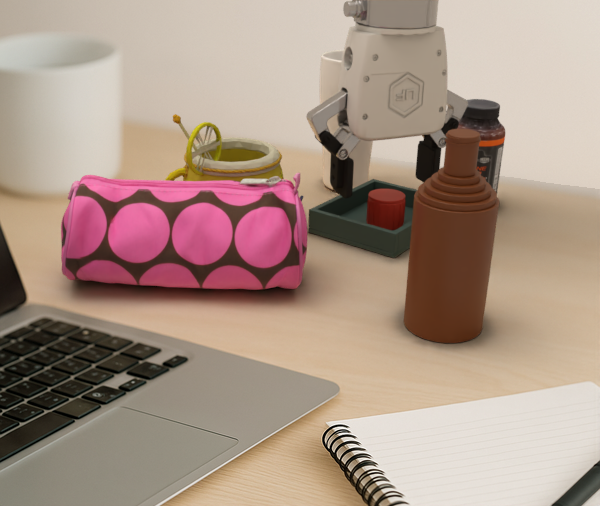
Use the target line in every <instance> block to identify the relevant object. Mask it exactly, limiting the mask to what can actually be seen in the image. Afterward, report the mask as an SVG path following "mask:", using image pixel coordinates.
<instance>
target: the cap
mask: <svg viewBox="0 0 600 506" xmlns="http://www.w3.org/2000/svg"><path fill="white" fill-rule="evenodd" d="M405 202H406V200H405V194H404V193H403V192H401V191H398V190H394V189H376V190H372V191H370V192H369V195H368V202H367V219H366V222H367V224H370V225H374V226H377V227H381V228H385V229H388V230H396V229H398V228H400V227H401V226H403V223H404V214H405Z"/></svg>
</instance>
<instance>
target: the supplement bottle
mask: <svg viewBox="0 0 600 506" xmlns="http://www.w3.org/2000/svg"><path fill="white" fill-rule="evenodd" d="M466 100H467V101H468V106H467V108H466V110H465V112H464V114H463V116H462V118H461V120H459V126H458V128H457V129H469V130H474V131H477V132H479V133H480V138H481V141H480V142H479V150H478V158H477V166H476V170H478V171H479V172H480V174H481V176H483V177H484V178H485V179H486V182H488V183H489V184H490V185H491V187H492V188H493V189H494V190H495V191H496V193H497V194H498V188H499V182H500V175H501V167H502V161H503V155H504V154H503V153H504V147H505V141H506V140H505V139H506V128H505V126H504V125H503V124H502V123H501V122H500V120H499V117H500V110H501V104H499V103H498V102H496V101H494V100H490V99H482V98H481V99H480V98H470V99H466Z"/></svg>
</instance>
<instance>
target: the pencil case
mask: <svg viewBox="0 0 600 506" xmlns="http://www.w3.org/2000/svg"><path fill="white" fill-rule="evenodd" d="M292 179H293V181H294V183H295V184H294V183H293V182H292V181H291V180H289V179H286V178H284V179H280V178H279V176H274V177H271V178H269V180H268V179H243V180H242V181H232V180H224V181H183V180H174V181H167V180H165V179H160V180H159V179H127V178H126V179H123V178H122V179H121V178H108V177H104V176H100V175H97V174H96V175H95V174H86V175H83V176H82V177H81V178H80V180H75V181H73V182H72V184H71V186H70V189H69V192H68V196H67V200H69V203H68V205H67V207H66V209H65V211H64V213H63V216H62V220H61V224H60V237H61V238H60V239H61V241H60V242H61V251H60V255H61V256H60V257H61V258H60V259H61V260H60V261H61V273H62V275H63V276H65V277H66V278H67V279H68V280H69V281H84V282H85V281H86V282H88V281H89V282H91V281H93V282H99V283H105V284H122V285H132V286H153V287H154V286H155V287H156V286H157V287H163V288H182V289H183V288H185V289H186V288H187V289H207V290H209V289H211V290H239V289H240V290H248V291H249V290H250V291H251V290H253V291H257V290H258V291H259V290H260V291H261V290H267V289H271V288H276V287H279V288H281V289H287V290H296V289H298V287H299V286H301V284H302V282H303V281H302V280H303V276H304V275H303V274H304V267H305V263H306V259H307V252H308V220H307V215H306V211H305V207H304V205H303V202H302V201H303V199H304V195H300V196H299V190H298V189H299V187H300V184H301V172H296V173H295V174H294V175H293V177H292Z"/></svg>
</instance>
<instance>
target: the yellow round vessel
mask: <svg viewBox="0 0 600 506" xmlns="http://www.w3.org/2000/svg"><path fill="white" fill-rule="evenodd" d="M181 119H182V117H181V116H180V115H178V114H176V113H174V114H173V115H172V121H173V123H175V124H177V125H178V126H179V128H180V129H181V131H182V132H183V134H184V135H185V137H186V139H187V140H188V141H187V144H186V149H185V153H184V155H183V160H184V162H185V165H184V166H183V167H180V168H177V169H175V170H173V171H171V172H169V174H168V175H167V176H166V178H165V179H164V180H167V181H176V179H178V178H180V177H182V181H224V180H232V181H242V180H243V179H268V180H269V178H271V177H274V176H279V178H280V179H285V177H284V172H283V169H282V166H281V160H282V158H283V155H282V153H281V151H279V150H278V148H277V147H276V146H275V145H272V144H271V143H269V142H266V141H264V140H260V139H256V138H255V139H254V138H248V137H222V134H221V131H220V129H219V127H218V126H217V125H216V124H214V123H212V122H208V121H203V122H201V123H199V124H198V125H197V126H195V128H194V129H193V130H192V131H191V134H190V135H189V133H188V131H187V130H186V128H185V126H184V125H183V123H182V121H181ZM205 127H206V129H205V135H204V138H203V137H202V135H201V134H200V131H201V130H202V129H203V128H205ZM213 132H214V135H215V138H212V139H211V136H212V133H213ZM208 133H209V134H208ZM207 136H208V139H207ZM203 139H204V140H203ZM195 140H196V141H197V143H194V142H195Z"/></svg>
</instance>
